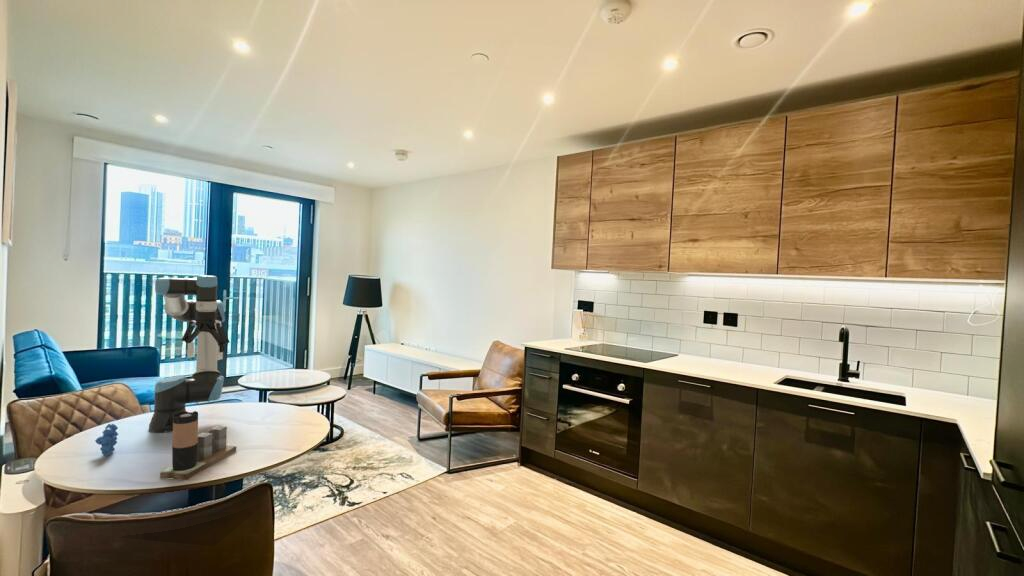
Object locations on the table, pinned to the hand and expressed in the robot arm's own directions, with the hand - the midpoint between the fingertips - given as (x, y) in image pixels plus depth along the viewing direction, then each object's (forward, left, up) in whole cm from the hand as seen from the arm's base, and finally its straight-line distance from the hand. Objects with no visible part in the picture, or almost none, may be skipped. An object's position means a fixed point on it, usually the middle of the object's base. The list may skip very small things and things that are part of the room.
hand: (205, 358), depth 191 cm
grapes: (-24, -20, -37) cm, 48 cm away
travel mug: (+17, -29, -34) cm, 48 cm away
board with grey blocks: (+17, -21, -36) cm, 45 cm away
